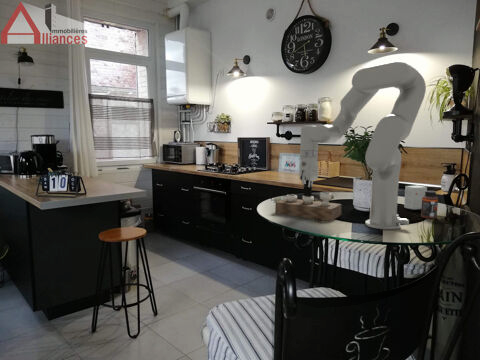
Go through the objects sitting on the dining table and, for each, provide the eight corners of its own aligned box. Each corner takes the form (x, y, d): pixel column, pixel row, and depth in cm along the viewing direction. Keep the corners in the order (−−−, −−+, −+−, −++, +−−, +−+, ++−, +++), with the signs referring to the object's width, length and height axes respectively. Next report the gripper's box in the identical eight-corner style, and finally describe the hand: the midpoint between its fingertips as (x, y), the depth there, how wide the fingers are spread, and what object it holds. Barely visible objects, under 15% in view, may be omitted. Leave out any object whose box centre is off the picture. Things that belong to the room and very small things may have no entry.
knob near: (332, 207, 150) (333, 192, 150) (328, 209, 146) (329, 193, 146) (322, 206, 153) (322, 191, 152) (317, 208, 149) (318, 192, 148)
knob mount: (341, 215, 152) (341, 204, 152) (331, 221, 143) (331, 209, 142) (287, 208, 167) (287, 198, 166) (275, 212, 157) (275, 202, 157)
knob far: (298, 209, 160) (298, 194, 159) (293, 211, 156) (294, 196, 155) (289, 207, 163) (289, 193, 162) (284, 209, 159) (284, 195, 158)
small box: (416, 206, 171) (418, 185, 170) (426, 208, 166) (427, 186, 165) (403, 207, 169) (404, 185, 167) (412, 209, 163) (414, 187, 162)
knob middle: (315, 210, 155) (315, 195, 154) (310, 212, 151) (311, 197, 150) (305, 209, 158) (305, 194, 157) (300, 211, 154) (300, 196, 153)
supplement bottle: (436, 220, 144) (438, 192, 143) (420, 218, 147) (422, 191, 146) (437, 217, 149) (438, 190, 148) (421, 215, 152) (423, 189, 151)
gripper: (310, 155, 143) (308, 199, 146) (323, 153, 155) (322, 194, 158) (293, 154, 147) (292, 197, 150) (307, 153, 160) (306, 192, 162)
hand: (307, 195), depth 154 cm, fingers closed
